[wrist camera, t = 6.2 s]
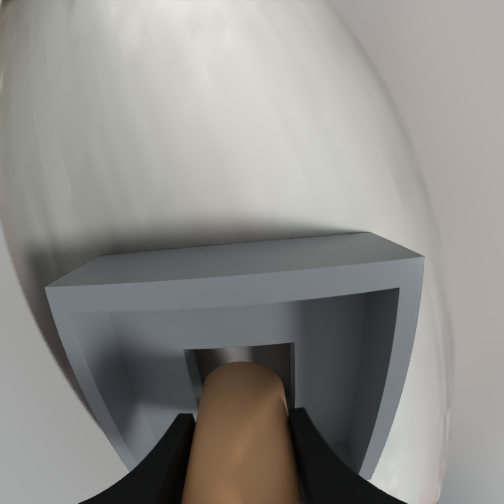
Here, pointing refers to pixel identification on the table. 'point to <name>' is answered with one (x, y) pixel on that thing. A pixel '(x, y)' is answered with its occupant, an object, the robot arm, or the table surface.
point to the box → (245, 332)
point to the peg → (242, 440)
